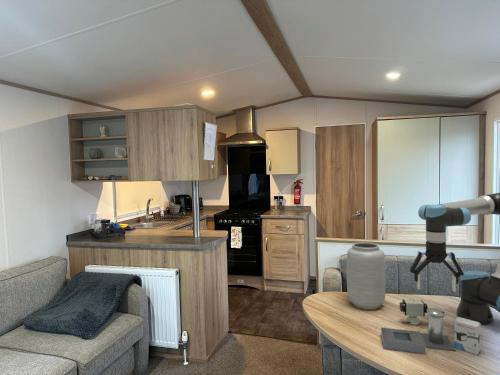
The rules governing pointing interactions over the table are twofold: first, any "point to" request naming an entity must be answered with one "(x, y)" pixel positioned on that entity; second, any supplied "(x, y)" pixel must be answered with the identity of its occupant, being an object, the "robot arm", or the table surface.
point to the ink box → (467, 335)
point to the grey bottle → (435, 325)
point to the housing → (403, 340)
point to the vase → (366, 275)
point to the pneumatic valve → (413, 310)
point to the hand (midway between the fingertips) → (435, 289)
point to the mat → (444, 346)
